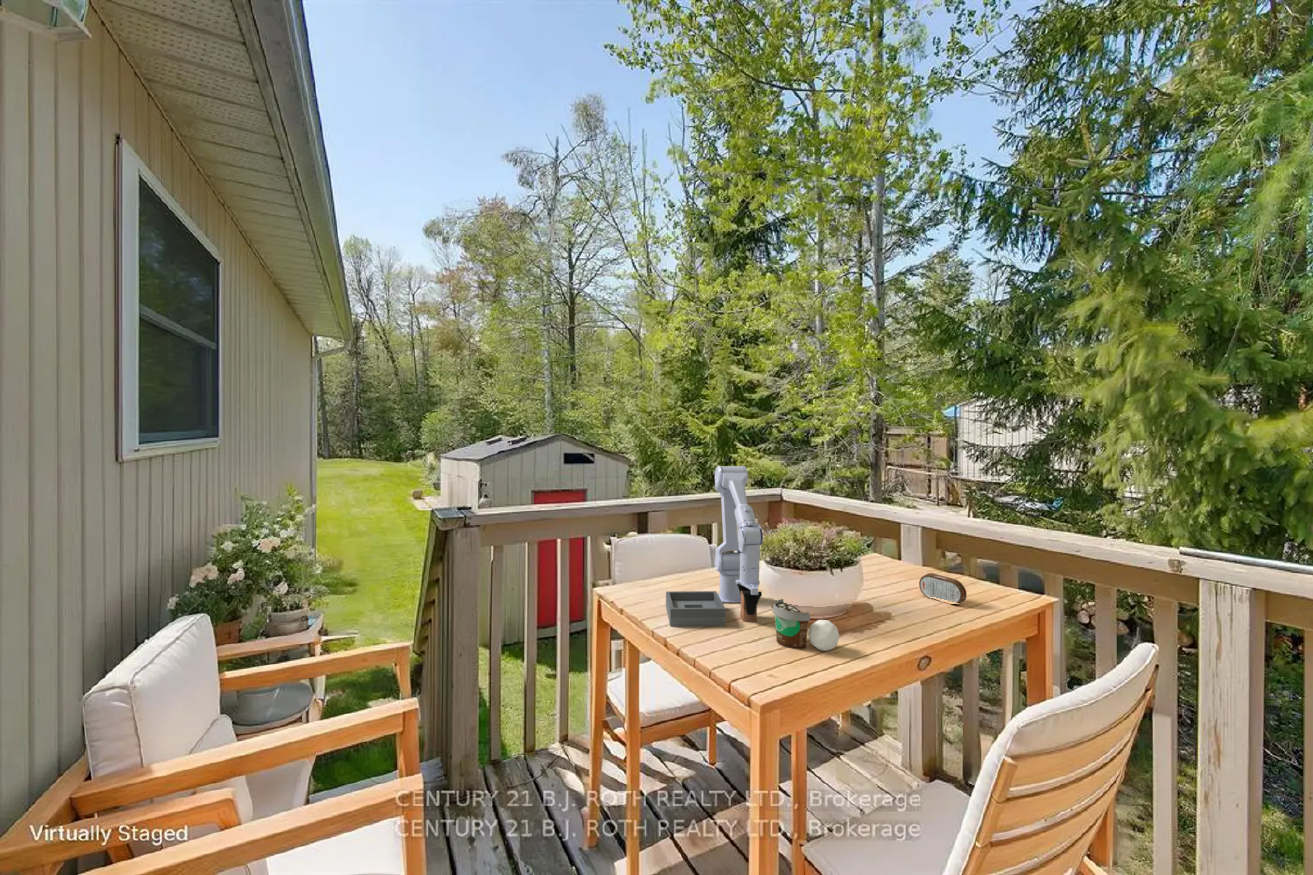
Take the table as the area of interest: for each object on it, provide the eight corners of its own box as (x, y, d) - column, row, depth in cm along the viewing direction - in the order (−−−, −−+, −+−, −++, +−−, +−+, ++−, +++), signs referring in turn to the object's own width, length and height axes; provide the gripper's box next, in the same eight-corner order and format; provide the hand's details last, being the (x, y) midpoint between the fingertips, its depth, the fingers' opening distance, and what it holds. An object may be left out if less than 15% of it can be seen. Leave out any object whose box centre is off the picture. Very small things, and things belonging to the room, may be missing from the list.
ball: (818, 655, 153) (817, 625, 157) (846, 653, 148) (843, 622, 152) (803, 648, 149) (802, 617, 153) (831, 645, 144) (829, 613, 148)
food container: (762, 636, 159) (763, 600, 158) (781, 633, 161) (782, 598, 160) (789, 654, 147) (790, 615, 147) (809, 650, 150) (810, 612, 149)
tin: (966, 607, 185) (967, 581, 184) (961, 608, 183) (962, 582, 182) (922, 594, 197) (923, 570, 197) (917, 595, 195) (918, 571, 195)
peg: (753, 616, 174) (754, 590, 173) (756, 621, 170) (757, 594, 169) (740, 616, 174) (740, 590, 173) (743, 621, 170) (743, 595, 169)
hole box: (715, 606, 182) (716, 591, 182) (725, 625, 166) (725, 608, 166) (665, 607, 181) (666, 591, 181) (670, 626, 165) (670, 609, 165)
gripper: (731, 559, 178) (730, 602, 179) (741, 573, 163) (740, 620, 164) (753, 559, 178) (753, 602, 179) (765, 573, 164) (764, 619, 165)
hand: (748, 610), depth 172 cm, fingers open, 5 cm apart
